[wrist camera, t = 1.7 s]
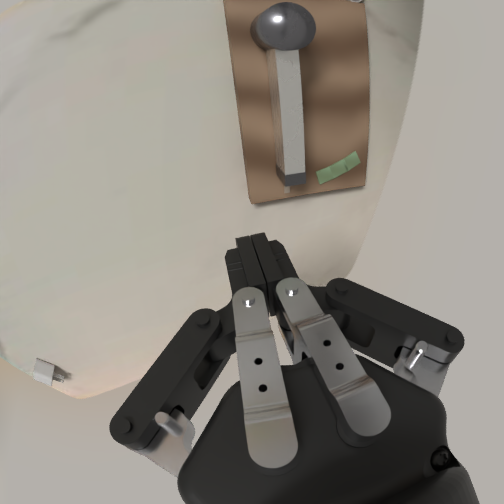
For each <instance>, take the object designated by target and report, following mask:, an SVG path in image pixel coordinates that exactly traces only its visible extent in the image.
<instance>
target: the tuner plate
mask: <svg viewBox="0 0 504 504" xmlns="http://www.w3.org/2000/svg"><path fill="white" fill-rule="evenodd" d="M281 2H292V3H296V4H298V5H301V6H302V7H304V8H305V9H307V10H308V11H309V12H310V14H311V15H312V16H313V18H314V20H315V24H316V33H315V36H314V39H313V40H312V41H311V43H310V44H309V45H307V46H306V47H304V48H302V49H298V51H299V62H300V75H301V88H302V104H303V123H304V147H305V172H306V184H300V185H294V186H288V187H285V186H284V184H283V183H282V181H281V180H280V179H279V177H278V176H277V175H276V154H275V141H274V129H273V118H272V107H271V96H270V86H269V76H268V66H267V57H266V50H264V49H262V48H260V47H259V46H257V45H256V44H255V42H254V41H253V39H252V37H251V34H250V26H251V23H252V21H253V20H254V18H255V17H256V16H258V15H259V14H260V13H262V12H263V11H265V10H266V9H268V8H269V7H271V6H272V5H274V4H277V3H281ZM223 3H224V10H225V17H226V25H227V32H228V40H229V47H230V55H231V62H232V70H233V78H234V85H235V93H236V100H237V108H238V116H239V124H240V131H241V139H242V147H243V155H244V162H245V170H246V178H247V186H248V194H249V199H250V201H251V204H256V203H261V202H266V201H272V200H277V199H283V198H289V197H294V196H300V195H306V194H312V193H318V192H324V191H331V190H337V189H344V188H351V187H358V186H365V179H366V167H367V153H368V134H369V55H368V38H367V25H366V15H365V5H364V4H363V3H358V2H352V1H346V0H223Z"/></svg>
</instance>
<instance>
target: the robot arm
mask: <svg viewBox="0 0 504 504" xmlns="http://www.w3.org/2000/svg"><path fill="white" fill-rule="evenodd" d="M235 239H236V245H237V248H235V249H230V250H227V253H226V255H225V261H226V266H227V271H228V275H229V280H230V285H231V290H232V299H231V301H230V302H229V304H228V305H227V306H225V307H224V308H222V309H220V310H218V311H216V312H215V311H214V310H212V309H200V310H197V311H195V312H194V313H192V314H191V315H190V317H189V318H188V319H187V321H186V322H185V323H184V324H183V326H182V327H181V328H180V330H179V331H178V332H177V334H176V335H175V336H174V337H173V339H172V340H171V341H170V343H169V344H168V345H167V347H166V348H165V349H164V351H163V352H162V353H161V354H160V356H159V357H158V358H157V360H156V361H155V362H154V364H153V365H152V366H151V368H150V369H149V370H148V371H147V373H146V374H145V375H144V377H143V378H142V379H141V381H140V382H139V383H138V385H137V386H136V387H135V389H134V390H133V391H132V393H131V394H130V395H129V397H128V398H127V399H126V401H125V402H124V403H123V405H122V406H121V407H120V409H119V410H118V411H117V412H116V414H115V415H114V416H113V418H112V420H111V422H110V433H111V435H112V437H113V439H114V440H116V441H117V442H118V443H120V444H122V445H124V446H126V447H127V448H129V449H130V450H132V451H134V452H137V453H139V454H141V455H144V456H145V457H147V458H148V459H150V460H152V461H153V462H155V463H156V464H157V465H159V466H160V467H162V468H163V469H165V470H166V471H168V472H170V473H171V474H173V475H174V476H176V477H177V478H178V482H177V483H178V490H179V493H180V495H181V497H182V499H183V501H184V502H185V503H186V504H479V501H478V498H477V496H476V493H475V490H474V487H473V485H472V482H471V479H470V477H469V474H468V472H467V470H465V468H464V467H463V466H462V465H461V463H460V462H459V461H458V460H457V459H456V458H455V457H454V455H453V454H452V453H451V451H450V449H449V447H448V444H447V437H446V411H445V408H444V405H443V403H442V402H441V400H440V399H439V398H438V395H439V393H440V390H441V387H442V384H443V382H444V379H445V376H446V373H447V370H448V367H449V365H450V363H451V362H452V361H453V360H454V359H455V357H456V356H457V355H458V354H459V352H460V351H461V350H462V348H463V346H464V337H463V335H462V333H461V332H460V331H459V330H458V329H457V328H455V327H453V326H451V325H449V324H447V323H444V322H442V321H440V320H438V319H436V318H433V317H431V316H429V315H427V314H425V313H422V312H420V311H418V310H416V309H413V308H411V307H409V306H407V305H404V304H402V303H400V302H397V301H395V300H393V299H391V298H389V297H386V296H384V295H382V294H379V293H377V292H375V291H373V290H371V289H368V288H366V287H364V286H361V285H359V284H357V283H355V282H352V281H350V280H348V279H344V278H336V279H333V280H331V281H330V282H329V283H328V284H327V286H326V287H314V286H309V285H307V284H306V283H305V282H304V281H303V280H301V279H299V277H298V275H297V273H296V271H295V269H294V267H293V265H292V263H291V261H290V258H289V256H288V254H287V253H286V250H285V248H284V246H283V245H282V244H281V243H280V242H278V241H277V240H273V241H268V240H267V237H266V235H265V233H259V234H254V235H250V236H244V237H240V238H235ZM269 313H270V316H275V315H276V317H277V320H278V327H279V331H280V333H281V335H282V337H283V340H284V342H285V344H286V346H287V349H288V351H289V353H290V356H291V358H292V361H293V365H281V366H280V362H279V358H278V353H277V348H276V343H275V339H274V335H273V331H272V330H271V325H270V321H269ZM352 348H353V349H355V350H357V351H359V352H361V353H363V354H365V355H367V356H369V357H371V358H373V359H375V360H377V361H379V362H381V363H383V364H385V365H387V366H389V367H391V368H393V370H394V373H395V374H394V373H393V372H391V371H389V370H387V369H385V368H383V367H381V366H379V365H377V364H375V363H374V362H372V361H370V360H368V359H366V358H364V357H362V356H359V355H357V354H354V352H353V350H352ZM235 352H237V359H238V367H239V376H240V381H238V382H236V383H235V384H234V385H233V386H231V387H230V389H228V391H227V392H226V393H225V394H224V396H223V398H222V399H221V401H220V403H219V405H218V406H217V408H216V410H215V412H214V413H213V415H212V417H211V419H210V421H209V422H208V424H207V425H206V427H205V429H204V431H203V432H202V434H201V436H200V437H199V439H198V441H197V442H196V444H195V446H194V447H193V449H191V444H192V440H193V438H194V435H195V428H194V425H193V424H192V422H191V421H190V420H191V418H192V417H193V415H194V414H195V412H196V410H197V409H198V407H199V406H200V404H201V403H202V401H203V400H204V398H205V397H206V395H207V393H208V392H209V390H210V389H211V387H212V386H213V384H214V383H215V381H216V379H217V378H218V376H219V375H220V373H221V372H222V370H223V368H224V367H225V365H226V364H227V362H228V360H229V359H230V356H231V354H234V353H235Z"/></svg>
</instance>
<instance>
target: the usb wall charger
mask: <svg viewBox="0 0 504 504" xmlns="http://www.w3.org/2000/svg"><path fill="white" fill-rule="evenodd" d="M54 367H55V365H53V364H50V363H47V362H45V361H42V360H40V359H36V362H35V367H34V371H33V379H34V380H36V381H39V382H42V383H44V384H47V385H50V386H52V380H56V381H59V382H61V380H62V379H64V376H63V378H61V377H62V375H59V374H57V373H54ZM54 376H55V377H54ZM57 377H58V378H57ZM60 378H61V379H60ZM63 382H64V380H63ZM63 382H62V383H63Z"/></svg>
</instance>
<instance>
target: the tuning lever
mask: <svg viewBox="0 0 504 504" xmlns="http://www.w3.org/2000/svg"><path fill="white" fill-rule="evenodd" d="M315 33H316V24H315V20H314V18H313V16H312V15H311V14H310V12H309V11H308V10H307V9H305V8H304V7H302V6H301V5H298V4H296V3H292V2H281V3H277V4H274V5H272V6H271V7H269V8H268V9H266V10H265V11H263V12H262V13H260V14H259V15H258V16H256V17H255V18H254V20H253V21H252V23H251V26H250V34H251V37H252V39H253V41H254V42H255V44H256V45H257V46H259V47H260V48H262V49H264V50H266V57H267V66H268V76H269V86H270V96H271V107H272V118H273V129H274V141H275V154H276V175H277V176H278V177H279V179H280V180H281V181H282V183H283V184H284V186H285V187H288V186H294V185H300V184H306V172H305V147H304V123H303V104H302V88H301V75H300V62H299V51H298V49H302V48H304V47H306V46H307V45H309V44H310V43H311V41H312V40H313V39H314V36H315Z"/></svg>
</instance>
